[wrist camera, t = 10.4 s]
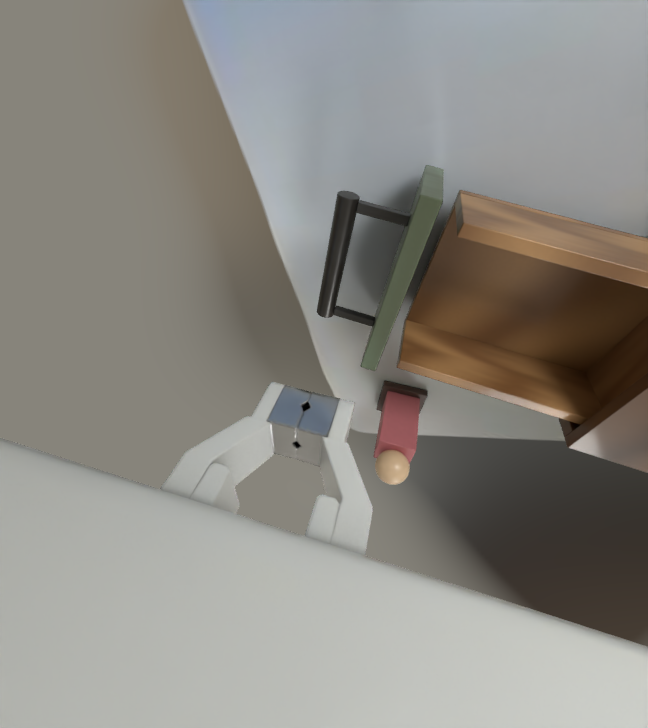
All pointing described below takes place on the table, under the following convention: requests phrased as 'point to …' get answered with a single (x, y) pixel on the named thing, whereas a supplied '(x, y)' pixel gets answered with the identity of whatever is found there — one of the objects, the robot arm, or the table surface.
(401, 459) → the peg doll
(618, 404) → the cabinet
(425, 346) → the drawer
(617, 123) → the table surface
